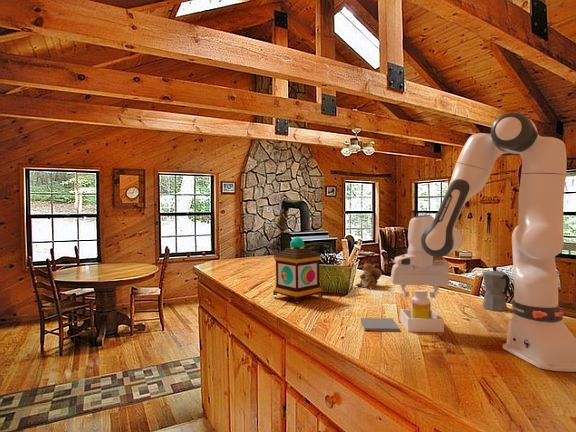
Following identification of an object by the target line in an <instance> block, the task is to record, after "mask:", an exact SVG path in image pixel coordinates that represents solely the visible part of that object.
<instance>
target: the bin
mask: <svg viewBox="0 0 576 432" xmlns="http://www.w3.org/2000/svg"><path fill="white" fill-rule="evenodd" d="M430 311H431V319H419V318H411V308H410V309H409V308H408V309H407V308H406V309H403V308H402V309H399V321H400V323H401V325H402V326H403V327H404V328H405V330H406V331H407V332H409V333H417V332H418V333H444V332H445V319H444V317H442V316H441V315H440V314H439V313H438V312H436V311H435V310H434V309H430Z"/></svg>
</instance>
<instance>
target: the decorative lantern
mask: <svg viewBox="0 0 576 432" xmlns="http://www.w3.org/2000/svg"><path fill="white" fill-rule="evenodd" d="M289 242H290V243H289V246H288V245H287V247H286V248H285V249H283V250H282V251H278V252H277V253H275V254H274V255H273V258H274V261H275V287H274V289H273V293H272V294H273V295H277V296H278V295H282V296H286V297H290V298H294V302H295V303H296V302H300V299H301V298H305V297H308V296H309V297H310V296H312V295H314V296H315V295H318V297H322V298H323V294H324V293H323V290H322V288H321V286H320V261H321V258H322V255H321V254H320V253H318V252H317V251H313V250H312V249H310V248H309V247H308V246H305V241H304V240H303V238H301V237H299V236H295V237H293V238H292V239H291V241H289ZM273 295H272V296H273Z"/></svg>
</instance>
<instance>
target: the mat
mask: <svg viewBox="0 0 576 432" xmlns="http://www.w3.org/2000/svg"><path fill="white" fill-rule="evenodd" d="M360 322H361V324H363V325H362V327H363V326H364V327H363V330H364V329H365V330H378V331H377V332H401V331H400V329H401V328H400V327H399V326H398V324H397V323H396V322H395V320H394V318H392V317H386V318H385V317H361V318H360ZM365 330H364V331H365Z"/></svg>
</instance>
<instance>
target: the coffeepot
mask: <svg viewBox="0 0 576 432" xmlns="http://www.w3.org/2000/svg"><path fill="white" fill-rule="evenodd" d="M497 268H498V266H492V270H486V271H482V278H483V284H484V285H483V286H484V288H485V293H484V297H483V302H482V308H483V309H484V308H485V309H484V310H488V311H491V310H492V312H505V311H507V310H508V307H507V305H508V304H507V300H506V296H505V295H507V293H508V291H509V287H510V283H511V279H510V277H509V275H508V274H507V273H505V272H502V271H498V270H497Z"/></svg>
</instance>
